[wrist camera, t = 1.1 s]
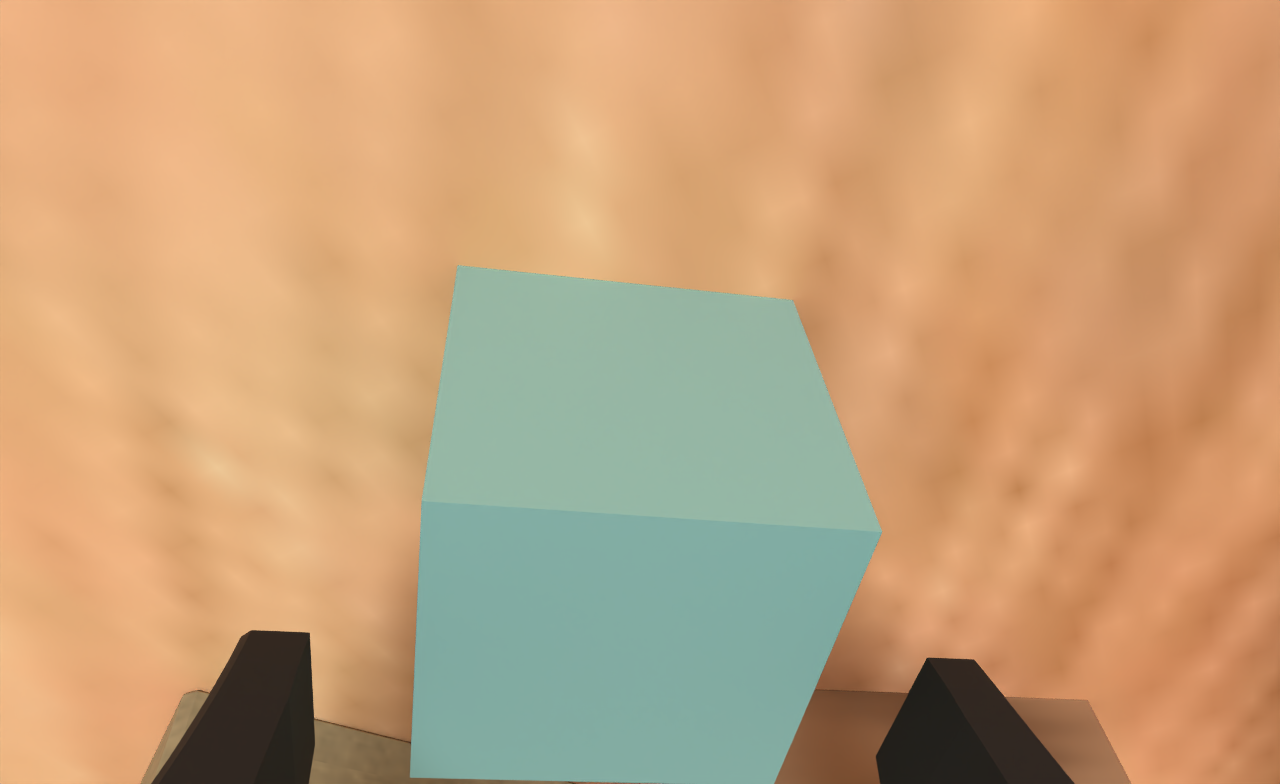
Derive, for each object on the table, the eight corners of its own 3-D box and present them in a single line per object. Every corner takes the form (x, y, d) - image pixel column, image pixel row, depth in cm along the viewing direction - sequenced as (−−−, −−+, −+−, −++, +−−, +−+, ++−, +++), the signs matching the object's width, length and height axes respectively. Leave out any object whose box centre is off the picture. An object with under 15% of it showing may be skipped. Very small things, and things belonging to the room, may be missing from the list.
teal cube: (791, 297, 15) (882, 532, 11) (721, 532, 18) (772, 786, 14) (457, 261, 14) (421, 501, 10) (443, 514, 17) (409, 777, 13)
